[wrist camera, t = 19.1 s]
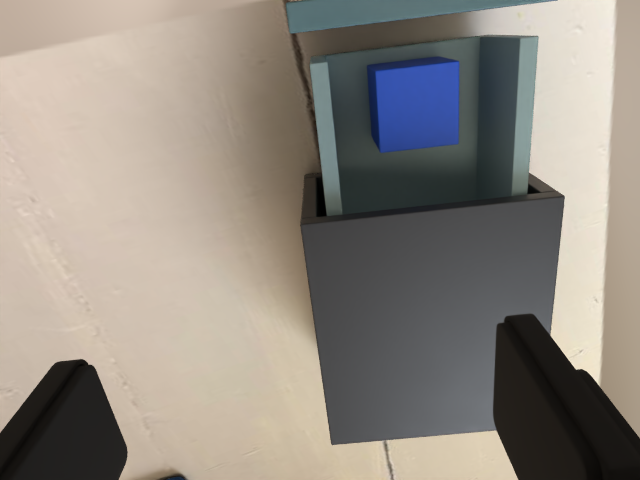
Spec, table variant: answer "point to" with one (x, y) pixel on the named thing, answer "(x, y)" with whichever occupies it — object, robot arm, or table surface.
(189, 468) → the table surface
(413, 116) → the blue block
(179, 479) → the cell phone
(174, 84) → the table surface
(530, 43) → the drawer
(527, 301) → the dark grey drawer cabinet
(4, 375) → the table surface
